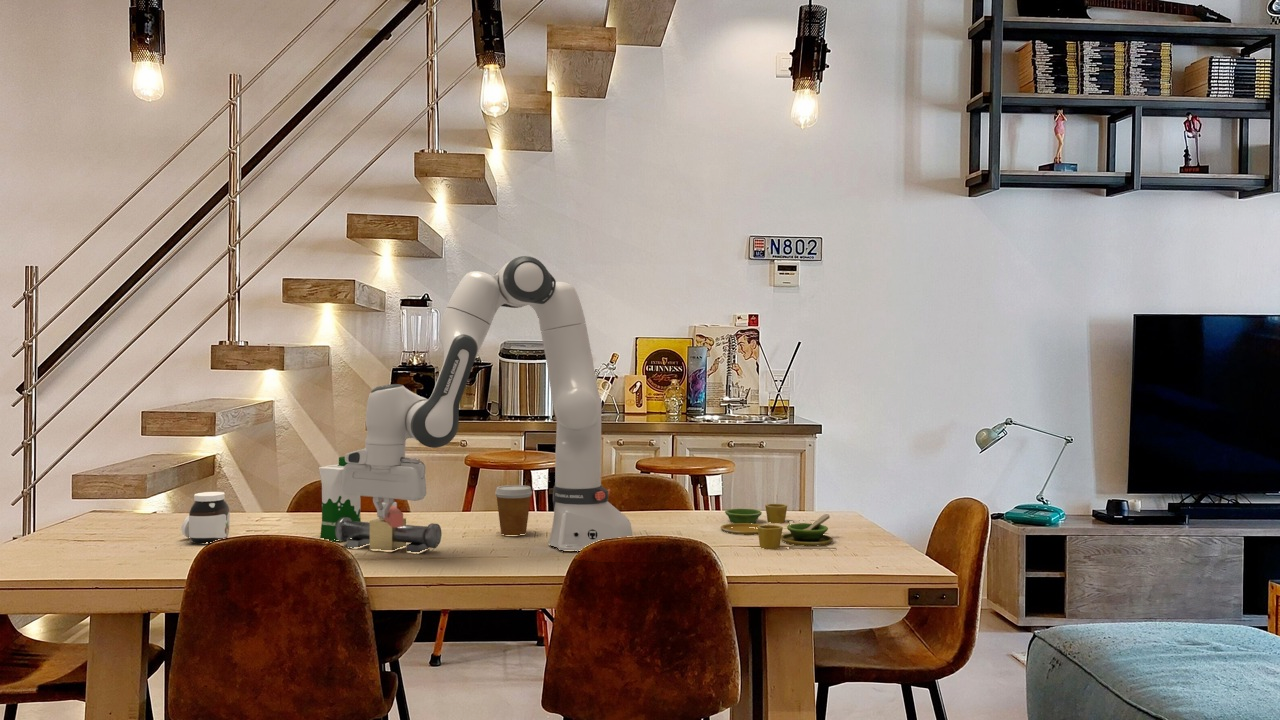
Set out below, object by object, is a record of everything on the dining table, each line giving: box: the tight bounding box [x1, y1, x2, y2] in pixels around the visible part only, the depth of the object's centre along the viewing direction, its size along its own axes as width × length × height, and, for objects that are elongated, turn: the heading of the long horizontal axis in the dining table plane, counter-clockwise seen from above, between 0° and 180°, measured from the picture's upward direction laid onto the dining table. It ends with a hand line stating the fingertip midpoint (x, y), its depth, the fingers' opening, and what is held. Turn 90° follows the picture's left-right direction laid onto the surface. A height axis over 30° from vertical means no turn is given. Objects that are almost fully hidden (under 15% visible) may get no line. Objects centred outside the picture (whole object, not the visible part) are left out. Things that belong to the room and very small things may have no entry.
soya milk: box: [318, 456, 362, 543], centre depth 237 cm, size 9×9×20 cm
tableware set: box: [720, 503, 837, 550], centre depth 246 cm, size 41×28×6 cm
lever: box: [378, 501, 404, 528], centre depth 220 cm, size 14×4×4 cm, turn 24°
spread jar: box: [180, 491, 231, 544], centre depth 234 cm, size 12×11×12 cm
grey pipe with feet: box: [335, 517, 442, 552], centre depth 225 cm, size 25×6×7 cm, turn 72°
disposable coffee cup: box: [494, 484, 533, 535], centre depth 243 cm, size 10×10×12 cm
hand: (383, 517), depth 216 cm, fingers closed
